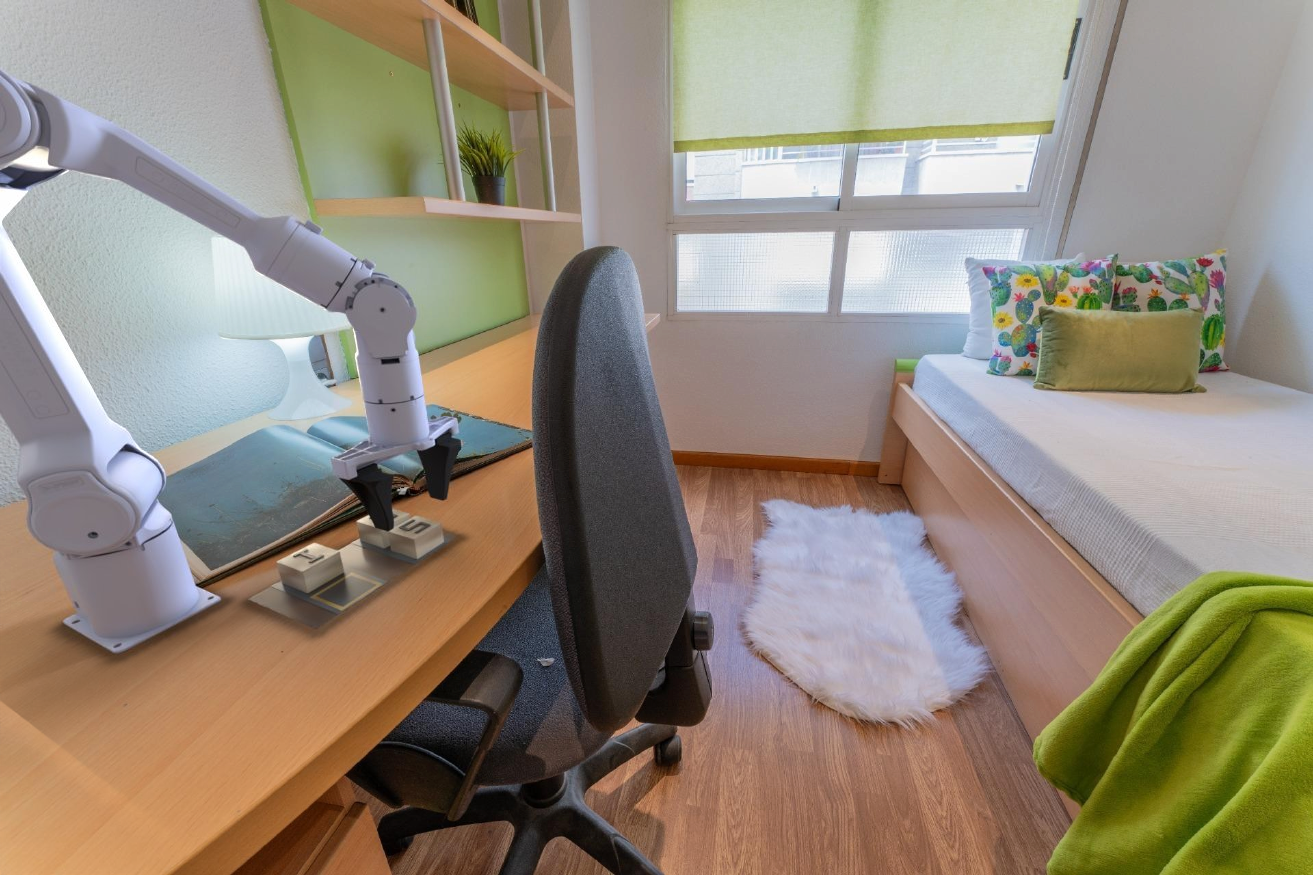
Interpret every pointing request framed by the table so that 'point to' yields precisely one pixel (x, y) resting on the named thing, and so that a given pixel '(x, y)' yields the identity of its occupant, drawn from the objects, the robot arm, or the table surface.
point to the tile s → (416, 537)
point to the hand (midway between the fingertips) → (413, 512)
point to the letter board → (342, 583)
